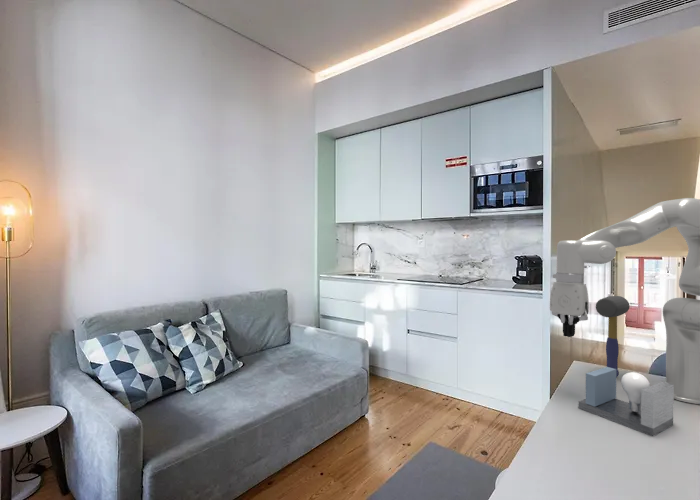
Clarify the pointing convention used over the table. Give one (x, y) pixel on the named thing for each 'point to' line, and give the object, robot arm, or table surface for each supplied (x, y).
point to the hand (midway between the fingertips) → (568, 336)
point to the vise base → (622, 415)
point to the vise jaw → (600, 386)
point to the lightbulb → (634, 389)
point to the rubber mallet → (612, 325)
